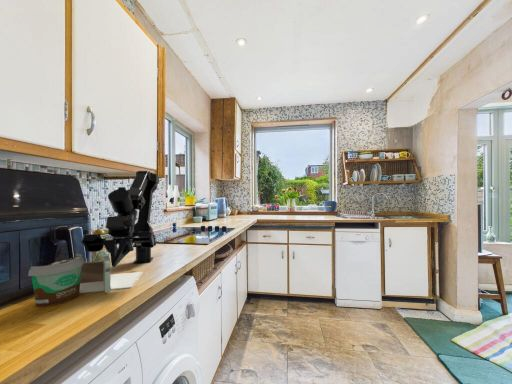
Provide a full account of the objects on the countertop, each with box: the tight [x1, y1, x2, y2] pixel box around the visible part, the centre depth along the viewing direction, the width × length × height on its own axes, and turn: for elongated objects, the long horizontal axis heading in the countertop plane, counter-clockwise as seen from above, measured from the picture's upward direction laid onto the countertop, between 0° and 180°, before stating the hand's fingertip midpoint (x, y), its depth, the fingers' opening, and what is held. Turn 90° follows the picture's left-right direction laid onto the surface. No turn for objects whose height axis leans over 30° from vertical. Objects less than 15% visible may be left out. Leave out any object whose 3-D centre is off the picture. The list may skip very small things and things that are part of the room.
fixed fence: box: [80, 260, 104, 283], centre depth 72 cm, size 1×8×8 cm, turn 104°
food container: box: [27, 253, 86, 308], centre depth 60 cm, size 12×6×10 cm, turn 168°
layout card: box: [79, 271, 144, 294], centre depth 72 cm, size 14×18×1 cm
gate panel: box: [102, 253, 112, 294], centre depth 67 cm, size 1×12×8 cm, turn 35°
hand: (113, 266), depth 65 cm, fingers closed
